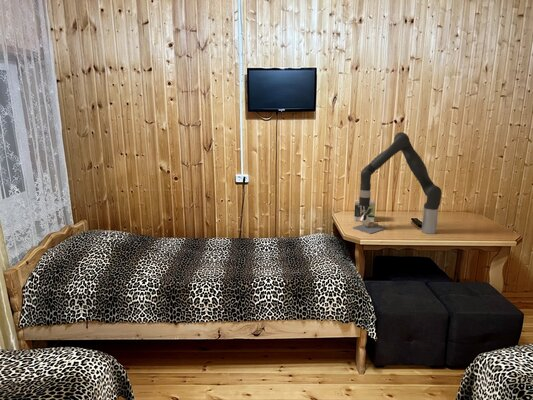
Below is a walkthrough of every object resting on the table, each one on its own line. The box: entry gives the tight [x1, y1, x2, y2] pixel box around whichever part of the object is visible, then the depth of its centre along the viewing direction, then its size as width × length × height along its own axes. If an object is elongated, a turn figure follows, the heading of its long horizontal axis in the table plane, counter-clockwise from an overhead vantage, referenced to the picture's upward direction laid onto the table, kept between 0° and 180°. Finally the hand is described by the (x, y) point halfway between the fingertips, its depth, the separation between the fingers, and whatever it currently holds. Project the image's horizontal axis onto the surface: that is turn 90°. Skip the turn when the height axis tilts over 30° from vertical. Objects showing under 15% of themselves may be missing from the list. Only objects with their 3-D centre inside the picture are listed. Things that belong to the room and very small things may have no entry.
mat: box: [352, 223, 389, 235], centre depth 273 cm, size 20×16×1 cm
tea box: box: [353, 199, 376, 222], centre depth 292 cm, size 15×10×15 cm, turn 76°
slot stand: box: [368, 220, 379, 227], centre depth 279 cm, size 7×6×2 cm
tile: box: [359, 213, 371, 227], centre depth 274 cm, size 6×2×9 cm
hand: (363, 219), depth 272 cm, fingers closed on tile, 1 cm apart
